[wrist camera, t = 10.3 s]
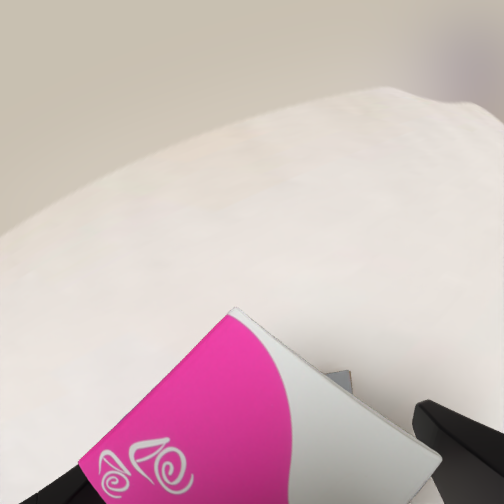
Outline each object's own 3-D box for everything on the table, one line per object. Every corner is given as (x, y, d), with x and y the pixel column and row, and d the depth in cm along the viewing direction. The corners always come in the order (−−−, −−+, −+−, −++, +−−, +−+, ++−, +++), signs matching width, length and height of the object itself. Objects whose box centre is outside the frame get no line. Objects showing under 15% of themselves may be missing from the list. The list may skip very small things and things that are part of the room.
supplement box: (278, 373, 16) (239, 292, 6) (359, 437, 13) (462, 459, 4) (207, 444, 14) (66, 461, 5) (285, 510, 12) (255, 632, 2)
